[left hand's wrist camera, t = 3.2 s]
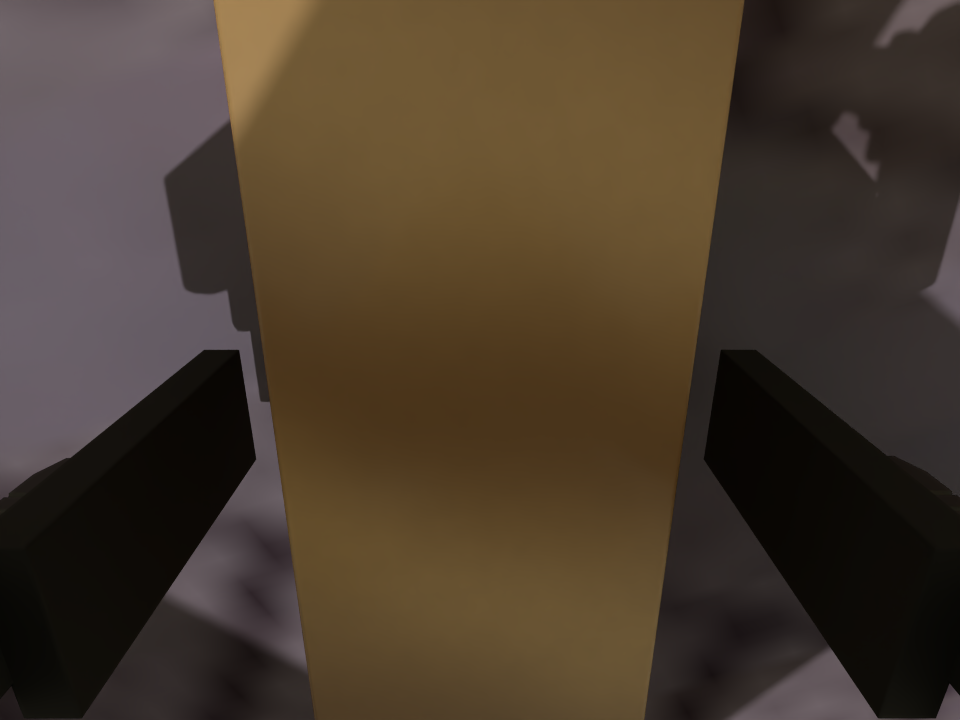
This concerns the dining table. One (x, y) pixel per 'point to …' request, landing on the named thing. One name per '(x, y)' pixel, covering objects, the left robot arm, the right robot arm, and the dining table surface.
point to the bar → (479, 331)
